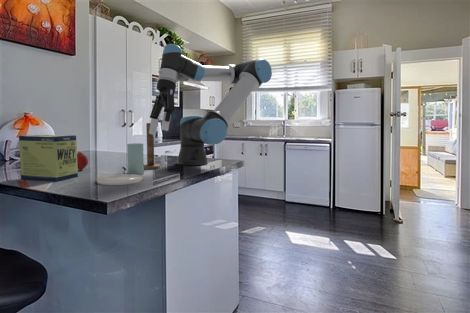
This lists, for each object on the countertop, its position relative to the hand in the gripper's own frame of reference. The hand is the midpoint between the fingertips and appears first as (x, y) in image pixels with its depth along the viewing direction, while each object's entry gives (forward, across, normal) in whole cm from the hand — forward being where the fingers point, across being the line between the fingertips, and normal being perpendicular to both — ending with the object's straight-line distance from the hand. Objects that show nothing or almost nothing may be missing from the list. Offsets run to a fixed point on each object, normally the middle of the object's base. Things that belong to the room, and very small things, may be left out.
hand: (157, 132), depth 125 cm
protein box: (+24, -13, -32) cm, 42 cm away
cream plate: (+22, +6, -12) cm, 25 cm away
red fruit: (+19, -27, -21) cm, 39 cm away
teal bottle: (+18, -5, -4) cm, 19 cm away
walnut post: (+13, -18, +6) cm, 23 cm away
